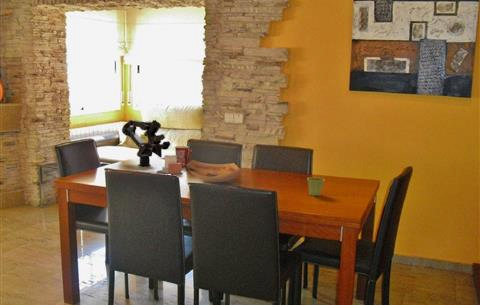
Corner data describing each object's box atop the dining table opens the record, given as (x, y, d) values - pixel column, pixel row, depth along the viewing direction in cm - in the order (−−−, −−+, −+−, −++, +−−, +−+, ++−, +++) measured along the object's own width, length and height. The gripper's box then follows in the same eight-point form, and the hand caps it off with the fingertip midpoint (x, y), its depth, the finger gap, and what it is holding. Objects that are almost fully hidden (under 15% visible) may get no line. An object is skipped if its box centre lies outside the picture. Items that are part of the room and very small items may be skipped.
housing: (157, 172, 309) (157, 161, 308) (170, 170, 315) (170, 159, 314) (169, 175, 299) (169, 164, 298) (182, 174, 305) (182, 163, 304)
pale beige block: (164, 171, 306) (164, 155, 304) (172, 170, 310) (173, 154, 308) (168, 172, 303) (168, 156, 301) (176, 171, 307) (176, 155, 305)
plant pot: (311, 192, 270) (312, 176, 268) (327, 195, 264) (328, 179, 263) (302, 194, 263) (303, 178, 261) (318, 197, 257) (319, 181, 255)
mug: (172, 166, 329) (172, 146, 327) (179, 164, 337) (179, 145, 335) (188, 168, 324) (188, 148, 322) (195, 166, 332) (195, 147, 330)
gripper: (143, 131, 309) (152, 151, 302) (169, 129, 320) (178, 148, 314) (137, 141, 316) (146, 161, 310) (163, 139, 328) (171, 158, 321)
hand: (160, 157), depth 313 cm, fingers closed
